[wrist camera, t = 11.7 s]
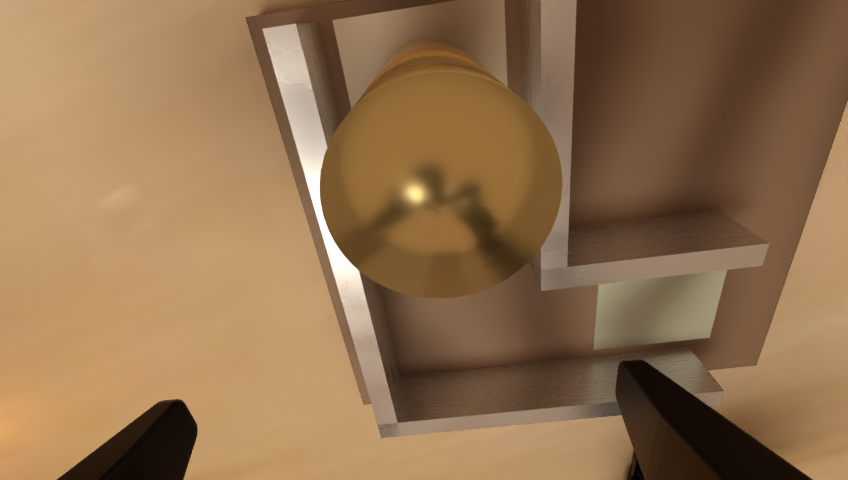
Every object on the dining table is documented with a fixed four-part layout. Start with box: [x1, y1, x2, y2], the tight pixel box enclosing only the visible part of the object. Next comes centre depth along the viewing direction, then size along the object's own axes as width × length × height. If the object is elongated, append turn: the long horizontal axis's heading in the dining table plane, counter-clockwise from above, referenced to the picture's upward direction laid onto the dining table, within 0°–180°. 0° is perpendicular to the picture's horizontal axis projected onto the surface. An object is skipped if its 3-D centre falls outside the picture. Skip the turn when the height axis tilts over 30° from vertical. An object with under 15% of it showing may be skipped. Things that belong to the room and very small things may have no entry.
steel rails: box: [262, 0, 769, 438], centre depth 17 cm, size 16×18×3 cm
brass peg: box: [319, 39, 563, 299], centre depth 11 cm, size 4×4×10 cm
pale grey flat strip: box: [245, 0, 848, 405], centre depth 19 cm, size 22×20×1 cm
